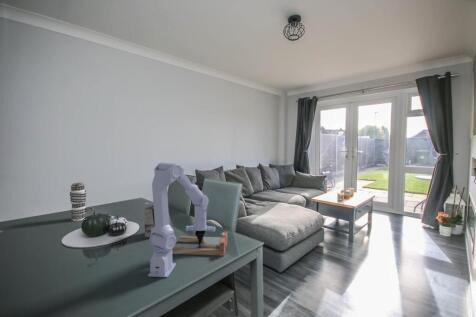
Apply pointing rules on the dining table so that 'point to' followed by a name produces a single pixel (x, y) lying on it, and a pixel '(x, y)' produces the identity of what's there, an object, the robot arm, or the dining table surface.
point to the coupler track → (201, 250)
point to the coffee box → (149, 220)
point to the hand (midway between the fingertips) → (200, 244)
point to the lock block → (211, 242)
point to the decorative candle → (78, 201)
